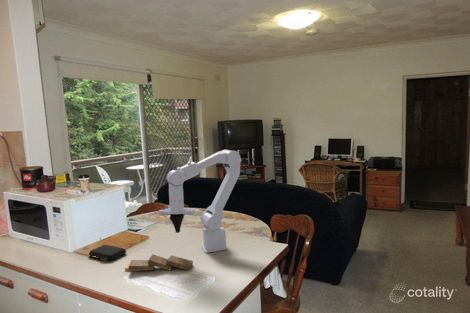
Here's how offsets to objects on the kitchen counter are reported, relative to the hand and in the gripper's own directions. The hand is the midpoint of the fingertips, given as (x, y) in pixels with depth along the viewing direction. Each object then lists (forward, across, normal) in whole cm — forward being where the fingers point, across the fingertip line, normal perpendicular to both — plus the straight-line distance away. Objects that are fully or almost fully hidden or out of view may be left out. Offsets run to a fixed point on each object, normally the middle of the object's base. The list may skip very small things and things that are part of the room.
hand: (178, 231), depth 134 cm
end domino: (+11, +9, +10) cm, 17 cm away
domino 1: (+9, +7, +11) cm, 16 cm away
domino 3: (+10, -7, +11) cm, 16 cm away
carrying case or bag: (+12, +32, -2) cm, 34 cm away
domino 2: (+10, 0, +10) cm, 14 cm away
